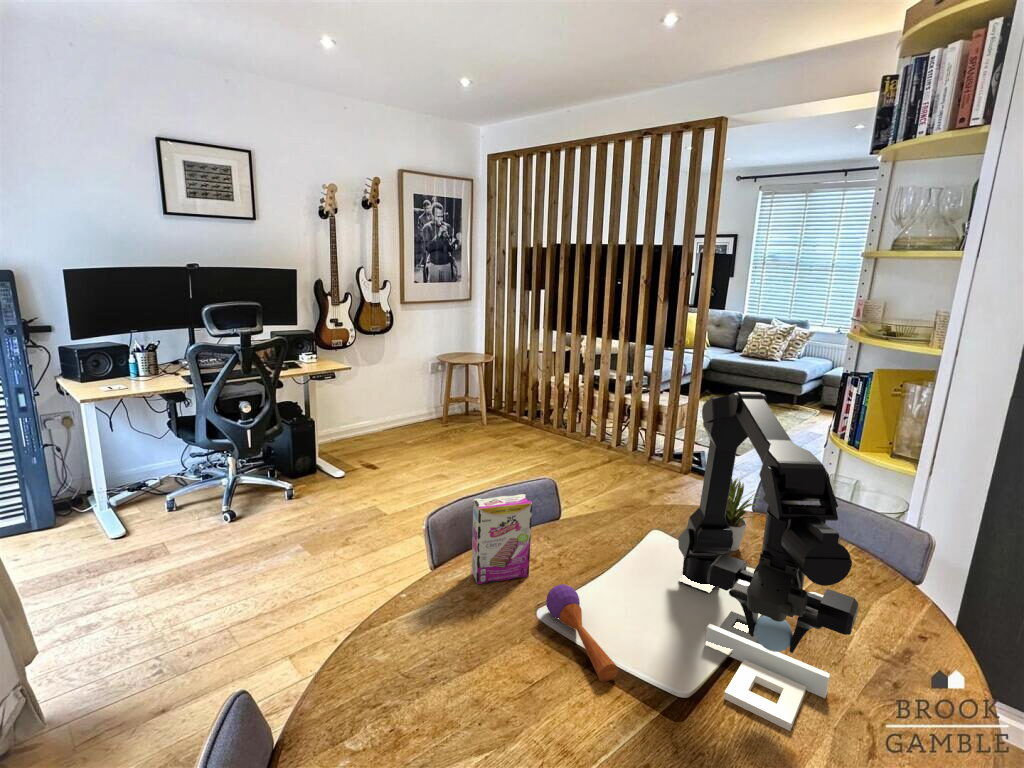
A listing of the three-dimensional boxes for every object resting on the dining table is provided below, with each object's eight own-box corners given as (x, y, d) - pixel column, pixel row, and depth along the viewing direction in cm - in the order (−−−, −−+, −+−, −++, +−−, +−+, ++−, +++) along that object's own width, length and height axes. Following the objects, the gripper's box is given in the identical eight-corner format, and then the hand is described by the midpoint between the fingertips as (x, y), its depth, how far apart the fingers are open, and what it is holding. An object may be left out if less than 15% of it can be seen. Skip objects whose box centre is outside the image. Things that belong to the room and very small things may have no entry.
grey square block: (718, 637, 95) (719, 627, 95) (730, 620, 100) (731, 610, 99) (754, 652, 92) (756, 642, 91) (765, 635, 96) (766, 624, 96)
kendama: (589, 665, 83) (539, 583, 101) (592, 695, 85) (543, 610, 103) (624, 651, 84) (569, 573, 102) (626, 680, 86) (572, 599, 104)
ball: (748, 649, 80) (752, 618, 79) (758, 632, 84) (762, 602, 83) (785, 664, 77) (789, 633, 76) (794, 646, 81) (798, 616, 80)
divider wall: (705, 645, 93) (706, 626, 92) (707, 641, 94) (709, 623, 93) (825, 698, 82) (828, 678, 81) (826, 693, 83) (830, 673, 82)
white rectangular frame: (724, 698, 82) (724, 691, 81) (743, 666, 88) (744, 659, 88) (790, 731, 76) (791, 723, 76) (805, 693, 83) (806, 686, 83)
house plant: (687, 526, 137) (693, 463, 133) (746, 531, 135) (753, 467, 131) (698, 555, 123) (705, 485, 119) (763, 561, 121) (772, 490, 118)
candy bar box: (477, 586, 109) (478, 508, 105) (471, 573, 113) (471, 498, 110) (530, 577, 112) (533, 502, 109) (522, 565, 117) (524, 492, 114)
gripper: (698, 544, 77) (687, 643, 80) (853, 596, 65) (833, 709, 69) (725, 517, 85) (715, 608, 89) (866, 559, 74) (849, 661, 77)
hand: (771, 643), depth 81 cm, fingers closed on ball, 5 cm apart
